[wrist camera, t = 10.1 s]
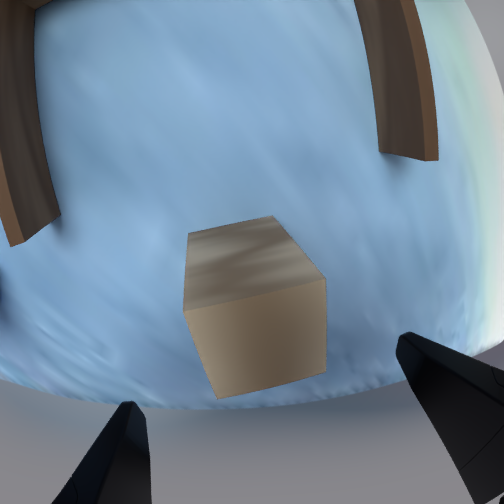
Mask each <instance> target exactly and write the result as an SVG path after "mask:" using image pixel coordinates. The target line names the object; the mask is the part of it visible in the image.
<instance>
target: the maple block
mask: <svg viewBox="0 0 504 504" xmlns="http://www.w3.org/2000/svg"><path fill="white" fill-rule="evenodd" d="M183 313H184V316H185V319H186V322H187V325H188V327H189V330H190V333H191V336H192V338H193V341H194V344H195V346H196V349H197V351H198V354H199V357H200V359H201V362H202V364H203V367H204V369H205V372H206V374H207V377H208V379H209V381H210V384H211V386H212V389H213V391H214V393H215V396H216V398H217V399H221V398H226V397H231V396H236V395H241V394H246V393H250V392H255V391H259V390H263V389H267V388H272V387H275V386H279V385H283V384H287V383H291V382H294V381H298V380H301V379H305V378H308V377H311V376H315V375H318V374H321V373H324V372H326V349H327V308H326V278H325V277H324V276H323V275H322V273H321V272H320V271H319V270H318V269H317V267H316V266H315V265H314V264H313V262H312V261H311V260H310V259H309V258H308V256H307V255H306V254H305V253H304V252H303V250H302V249H301V248H300V247H299V246H298V245H297V243H296V242H295V241H294V240H293V239H292V237H291V236H290V235H289V234H288V233H287V232H286V230H285V229H284V228H283V227H282V226H281V225H280V223H279V222H278V221H277V220H276V219H275V218H274V216H273V215H272V216H267V217H263V218H258V219H253V220H248V221H243V222H238V223H233V224H229V225H224V226H219V227H215V228H210V229H206V230H201V231H197V232H192V233H188V241H187V253H186V266H185V281H184V298H183Z"/></svg>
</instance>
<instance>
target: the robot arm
mask: <svg viewBox="0 0 504 504" xmlns="http://www.w3.org/2000/svg"><path fill="white" fill-rule="evenodd" d="M396 357H397V360H398V362H399V364H400V366H401V368H402V370H403V372H404V374H405V376H406V378H407V380H408V382H409V385H410V387H411V389H412V391H413V392H414V394H415V395H416V397H417V399H418V401H419V402H420V404H421V406H422V407H423V409H424V411H425V412H426V414H427V416H428V417H429V419H430V421H431V423H432V424H433V426H434V428H435V429H436V431H437V433H438V435H439V436H440V438H441V440H442V442H443V443H444V445H445V447H446V449H447V451H448V453H449V454H450V456H451V458H452V460H453V462H454V464H455V466H456V468H457V469H458V471H459V474H460V476H461V477H462V479H463V481H464V483H465V485H466V487H467V489H468V491H469V493H470V495H471V497H472V499H473V501H474V503H475V504H485V503H487V502H489V501H491V500H492V499H494V498H495V497H497V496H499V495H500V494H502V493H503V492H504V371H503V370H500V369H498V368H496V367H493V366H490V365H488V364H486V363H483V362H481V361H479V360H476V359H474V358H472V357H469V356H467V355H464V354H462V353H460V352H457V351H455V350H453V349H450V348H448V347H446V346H443V345H441V344H438V343H436V342H434V341H431V340H429V339H427V338H424V337H422V336H420V335H417V334H415V333H413V332H406V333H404V334H402V335H400V336H399V339H398V343H397V348H396ZM150 475H151V472H150V453H149V444H148V436H147V427H146V418H145V416H144V414H143V412H142V411H141V410H140V408H139V407H138V406H137V404H136V403H135V402H134V401H124V402H122V403H121V404H120V405H119V407H118V408H117V410H116V411H115V413H114V414H113V416H112V417H111V418H110V420H109V421H108V423H107V424H106V426H105V427H104V429H103V430H102V432H101V433H100V434H99V436H98V437H97V439H96V440H95V442H94V443H93V445H92V446H91V448H90V449H89V450H88V452H87V454H86V455H85V456H84V458H83V459H82V461H81V462H80V464H79V465H78V467H77V468H76V470H75V471H74V473H73V474H72V477H70V479H69V480H68V482H67V483H66V485H65V486H64V487H63V489H62V490H61V492H60V493H59V494H58V496H57V497H56V498H55V500H54V501H53V502H52V504H152V500H151V476H150ZM499 504H504V495H503V496H502V497H501V498H500V502H499Z"/></svg>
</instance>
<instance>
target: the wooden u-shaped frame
mask: <svg viewBox="0 0 504 504" xmlns="http://www.w3.org/2000/svg"><path fill="white" fill-rule="evenodd" d="M50 1H52V0H0V217H1V221H2V224H3V227H4V230H5V233H6V236H7V239H8V242H9V244H10V247H13V246H15V245H18V244H21V243H24V242H26V241H27V240H28V239H29V238H31V237H32V236H33V235H34V234H36V233H37V232H38V231H40V230H41V229H42V228H44V227H45V226H46V225H48V224H49V223H50V222H52V221H53V220H54V219H56V218H57V217H59V216H60V215H61V214H60V211H59V207H58V204H57V200H56V197H55V193H54V189H53V185H52V182H51V177H50V173H49V169H48V165H47V160H46V155H45V150H44V145H43V140H42V134H41V128H40V121H39V114H38V106H37V97H36V86H35V72H34V19H35V10H36V9H37V8H39V7H41V6H43V5H45V4H47V3H49V2H50ZM354 2H355V6H356V9H357V13H358V17H359V21H360V25H361V30H362V34H363V38H364V43H365V48H366V53H367V58H368V64H369V69H370V75H371V82H372V88H373V95H374V103H375V111H376V121H377V131H378V143H379V152H385V153H390V154H395V155H399V156H404V157H409V158H413V159H417V160H422V161H438V160H439V153H438V130H437V117H436V106H435V97H434V89H433V82H432V75H431V69H430V64H429V58H428V53H427V48H426V44H425V39H424V35H423V31H422V27H421V23H420V19H419V16H418V12H417V9H416V6H415V2H414V0H354Z"/></svg>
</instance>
